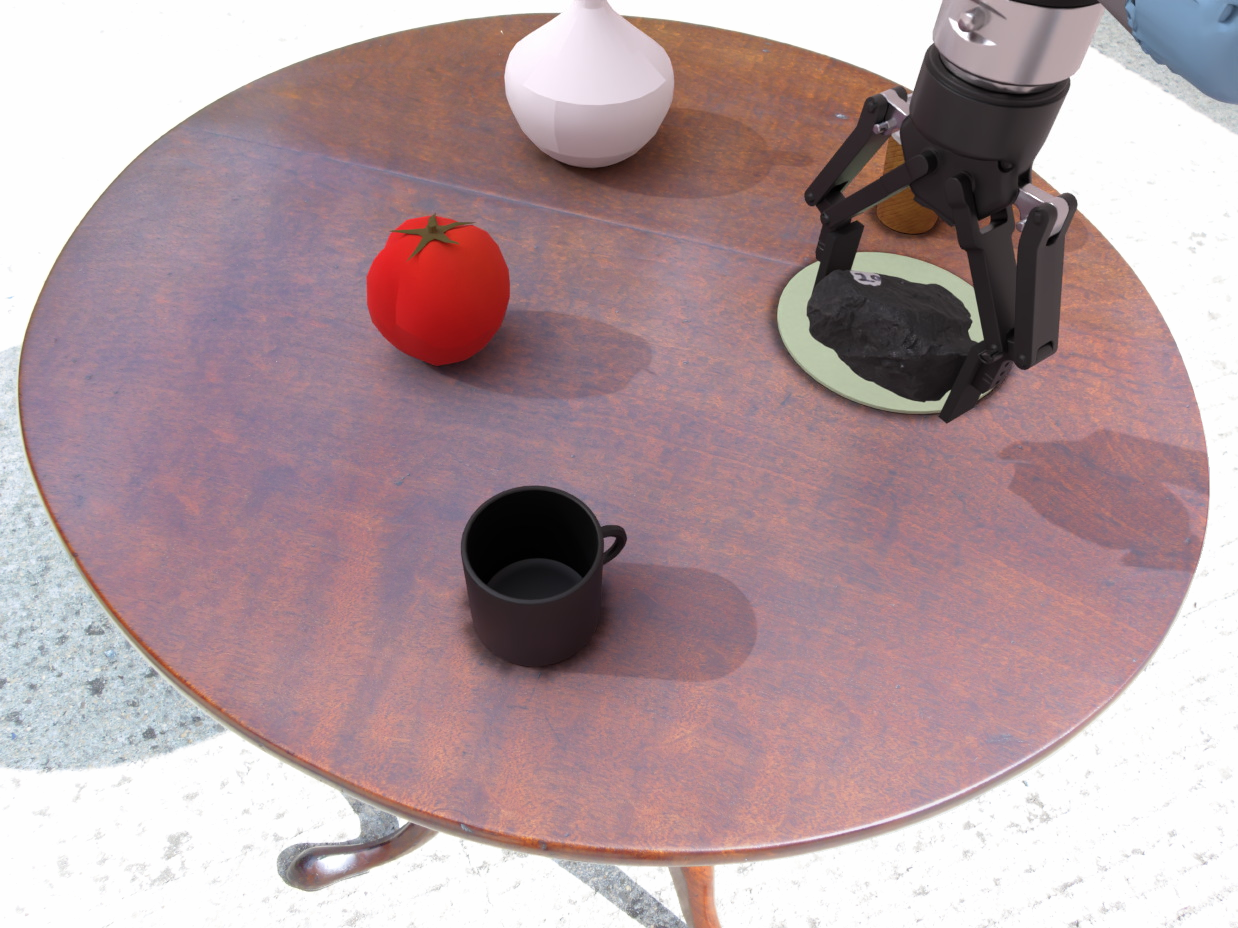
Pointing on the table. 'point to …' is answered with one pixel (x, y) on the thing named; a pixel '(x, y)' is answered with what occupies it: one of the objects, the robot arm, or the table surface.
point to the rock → (893, 331)
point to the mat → (826, 361)
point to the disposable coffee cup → (903, 197)
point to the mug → (536, 573)
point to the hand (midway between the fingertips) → (887, 354)
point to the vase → (589, 86)
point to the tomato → (438, 289)
